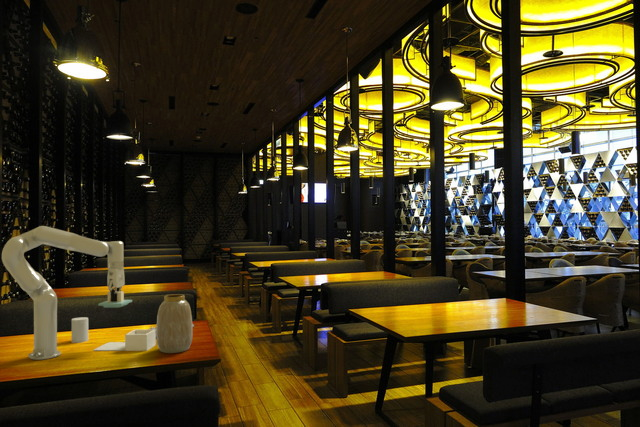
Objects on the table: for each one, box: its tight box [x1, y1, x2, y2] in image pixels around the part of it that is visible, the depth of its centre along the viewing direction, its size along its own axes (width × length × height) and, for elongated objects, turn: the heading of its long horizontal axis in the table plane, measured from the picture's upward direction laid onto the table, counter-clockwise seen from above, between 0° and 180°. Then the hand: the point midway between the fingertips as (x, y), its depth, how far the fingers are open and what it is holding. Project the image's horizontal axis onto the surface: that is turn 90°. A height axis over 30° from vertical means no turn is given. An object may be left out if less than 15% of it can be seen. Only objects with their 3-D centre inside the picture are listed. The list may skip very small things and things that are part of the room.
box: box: [124, 329, 157, 352], centre depth 236 cm, size 11×11×8 cm
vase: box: [156, 293, 193, 354], centre depth 231 cm, size 17×17×27 cm
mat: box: [93, 341, 125, 352], centre depth 238 cm, size 15×15×1 cm
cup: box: [71, 316, 89, 344], centre depth 252 cm, size 8×8×12 cm
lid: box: [98, 290, 133, 308], centre depth 239 cm, size 12×12×7 cm
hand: (115, 300), depth 239 cm, fingers closed on lid, 3 cm apart
